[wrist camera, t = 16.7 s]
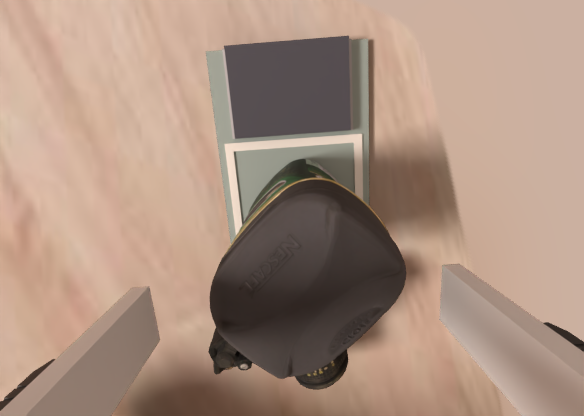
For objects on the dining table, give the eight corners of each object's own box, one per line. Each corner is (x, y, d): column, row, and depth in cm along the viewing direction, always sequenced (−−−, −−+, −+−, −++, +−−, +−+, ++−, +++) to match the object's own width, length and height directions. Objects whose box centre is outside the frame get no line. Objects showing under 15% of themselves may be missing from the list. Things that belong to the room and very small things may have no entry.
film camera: (275, 379, 36) (268, 467, 27) (209, 311, 34) (176, 381, 24) (393, 301, 34) (433, 368, 24) (330, 222, 31) (347, 260, 22)
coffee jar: (295, 260, 31) (299, 426, 13) (239, 214, 30) (161, 328, 12) (357, 196, 30) (458, 287, 12) (301, 144, 28) (316, 156, 10)
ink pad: (233, 138, 28) (230, 139, 27) (222, 50, 26) (219, 46, 25) (352, 130, 28) (355, 129, 27) (350, 39, 26) (353, 35, 25)
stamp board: (235, 267, 32) (234, 270, 32) (207, 53, 27) (205, 51, 26) (368, 258, 32) (370, 261, 31) (366, 40, 27) (368, 37, 26)
